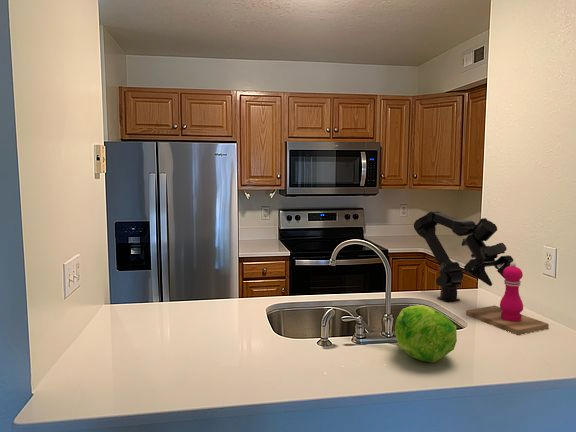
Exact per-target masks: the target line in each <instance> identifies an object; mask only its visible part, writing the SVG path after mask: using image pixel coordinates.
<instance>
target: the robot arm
mask: <svg viewBox="0 0 576 432" xmlns="http://www.w3.org/2000/svg"><path fill="white" fill-rule="evenodd" d="M438 224H439V225H440V226H443V227H446V228H448V229H450V230H451V232H452V233H454V235H456V236H458V237H466V238H463V239H462V242H461V246H462V247H465V246H466V247H468V249H469V251H470V253H471V255H470V257H471V258H470V260H468V262H467V263H466V264H465V265H464V266H463V268H462V267H461V266H460V263H459V262H458V261H452V260H451V259H450V257H449V255H448V253H447V252H446V250H445V248H444V247H443V245H442V243H441V241H440V239H439V238H438V236H437V234H436V231H437V230H436V229H437V227H436V226H438ZM413 228H414V231H415V233H417V235H418V236H420V237H421V238H423V239H424V240H425V242H426V244H427V246H428V247H429V250H430V251H431V253H432V255H433V256H434V259H435V260H436V262H437V264H438V266H439V270H438V272H439V276H438V277H437V278H436V279H435V283H436V285H437V286H439V287H440V296H437V299H439V300H441V301H443V302H445V303H450V302H456V301H457V302H459V301H460V298H458V286H461V285H462V282H463V279H464V273H463V270H464V272H465V273H466V275H467V274H468V275H470V276H473V277H475V278H477V279H478V280H480V281H482V282H483V283H484V284H486V285H487V286H490V287H491V286H493V283H492V280H491V279H490V277H489V275H488V273H487V272H486V268H488V267H489V268H490V267H494V268H495V269H496V272H497V273H498V274H500V276H502V278H503V279H504V280H505V278H504V276H503V271H504V269H505V268H506V267H509V266H510V263H511V262H515V260H514V259H513V257H512V256H511V255H507V254H506V251H507V250H508V249H507V246H506V245H505V243H504V242H499V243H496V244H493V245H487V244H486V243H485V242H486V241H489V239H490V238H491V237H493V235H494V234H495V233H496V232H497V231H498V227H497V225H496V223H494V222H492V221H491V220H488V219H487V218H486V217H484V218H480V220H479V221H478V223H477V224H476V222H475V221H473V220H467V219H459V218H456V217H452V216H450V215H447V214H446V213H445V214H444V213H442V212H441V211H438V210H437V211H436V210H434V211H433V210H432V211H429V212H427V213H426V214H425V215H423V216H421V217H419V218H417V219H416V220H415V221H414V223H413ZM501 254H506V255H501ZM499 255H500V256H499Z"/></svg>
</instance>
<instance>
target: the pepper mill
mask: <svg viewBox="0 0 576 432" xmlns="http://www.w3.org/2000/svg"><path fill="white" fill-rule="evenodd" d="M523 275H524V274H523V271H522V269H521V268H520V267H517V264H516V262H515V261H513V262H511V263H510V266H509V267H506V268H505V269H504V271H503V276H504V278H505V279H504V278H503V279H504V280H503V281H504V282H503V284H504V285H505V291H504V294H503V295H502V298H501V299H500V302H499V307H500V308H501V309H502V312H501V318H502V319H504V320H507V321H520V320H521V315H522V314H521V313H522V312H523V311H524V304H523V301H522V298H521V296H520V295H521V294H520V292H519V291H520V290H519V289H520V286H521V283H522V281H521V279H523Z"/></svg>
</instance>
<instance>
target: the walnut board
mask: <svg viewBox="0 0 576 432" xmlns="http://www.w3.org/2000/svg"><path fill="white" fill-rule="evenodd" d="M501 312H502V309H501V308H500V306H497V305H489V306H485V307H479V308H478V307H477V308H473V309H467V310H466V311H465V313H466V314H465V315H466V316H467V317H469V318H472V319H475V320H477V321H480V322H482V323H485V324H488V325H491V326H492V325H493V326H492V327H495V328H498V329H500V330H503V331H505V330H506V331H505V332H508V331H509V332H508V333H510V332H511V333H510V334H513V333H514V334H513V335H515V334H516V335H515V336H522V335H521V334H523V335H525V333H527V334H531V333H530V332H532V333H535V332H534V331H537V332H540V331H539V330H541V331H545V330H544V329H546V330H549V326H550V325H549V323H547V322H544V321H541V320H539V319H536V318H533V317H531V316H527V315H524V314H521V320H520V321H507V320H504V319H502V318H501Z"/></svg>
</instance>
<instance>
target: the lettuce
mask: <svg viewBox="0 0 576 432" xmlns="http://www.w3.org/2000/svg"><path fill="white" fill-rule="evenodd" d="M395 321H396V322H395V324H394V325H395V326H394V333H395V339H396V341H397V345H398V347H399V348H400V350H402V351H403V352H405V353H406V354H407V355H408V356H409V357H411V358H414V359H415V360H418V361H420V362H421V361H422V362H427V363H436V362H438V361H440V360H441V359H442V358H444V357H446V355H448V354H450V353H451V352H452V351H454V350H455V347H456V345H457V342H458V341H457V339H458V338H457V335H458V334H457V332H458V331H457V325H456V324H454V322H452V321H451V320H450V318H449V317H447V315H445V314H443V313H442V312H440V311H438V310H437V309H435V308H433V307H431V306H427V305H421V304H419V305H411V306H410V305H409V306H407V307H404V308H402V309H401V311H400V312H399V314H398V316H397V317H396V320H395Z"/></svg>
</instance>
